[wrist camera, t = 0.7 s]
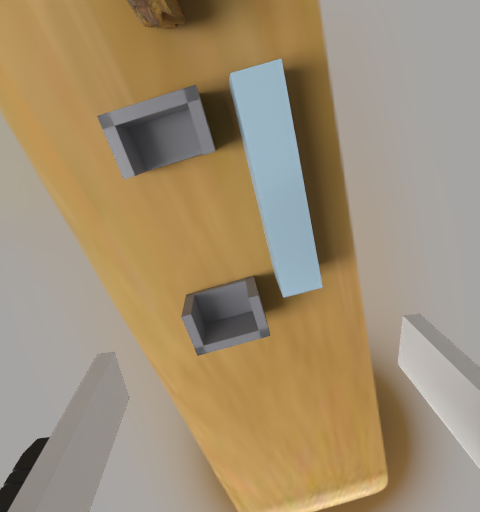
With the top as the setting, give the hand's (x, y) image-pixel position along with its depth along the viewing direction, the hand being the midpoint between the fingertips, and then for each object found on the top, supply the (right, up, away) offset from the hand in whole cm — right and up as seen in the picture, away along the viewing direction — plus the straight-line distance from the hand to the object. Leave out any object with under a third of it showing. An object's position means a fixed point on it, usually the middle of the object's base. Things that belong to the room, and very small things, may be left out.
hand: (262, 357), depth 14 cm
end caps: (-5, +8, +18) cm, 20 cm away
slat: (+2, +12, +17) cm, 21 cm away
